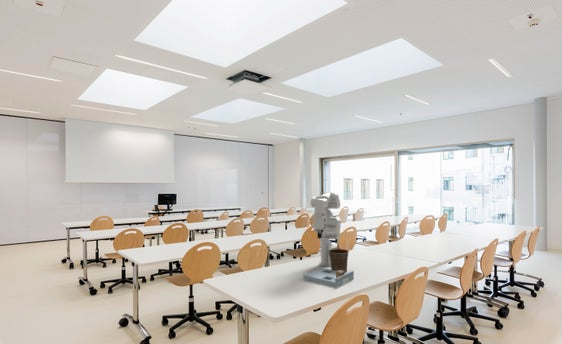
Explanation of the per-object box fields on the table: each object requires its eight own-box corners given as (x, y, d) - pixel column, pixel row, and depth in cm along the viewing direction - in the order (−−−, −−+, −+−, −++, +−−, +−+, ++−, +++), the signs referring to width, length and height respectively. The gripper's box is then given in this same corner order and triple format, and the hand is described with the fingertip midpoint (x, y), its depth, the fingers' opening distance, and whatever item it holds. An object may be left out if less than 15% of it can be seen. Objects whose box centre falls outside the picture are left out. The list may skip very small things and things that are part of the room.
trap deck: (321, 272, 243) (321, 265, 244) (353, 278, 225) (353, 271, 226) (303, 279, 225) (303, 271, 225) (337, 287, 207) (336, 278, 207)
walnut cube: (339, 276, 221) (339, 270, 221) (344, 277, 218) (344, 271, 218) (336, 277, 218) (335, 271, 218) (341, 279, 215) (341, 272, 215)
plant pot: (326, 273, 240) (326, 252, 240) (330, 268, 255) (330, 248, 256) (348, 275, 234) (347, 253, 235) (350, 269, 250) (349, 249, 250)
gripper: (330, 214, 240) (330, 238, 240) (314, 213, 250) (314, 236, 249) (324, 215, 235) (325, 239, 234) (308, 214, 244) (309, 237, 244)
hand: (319, 238), depth 242 cm, fingers closed
